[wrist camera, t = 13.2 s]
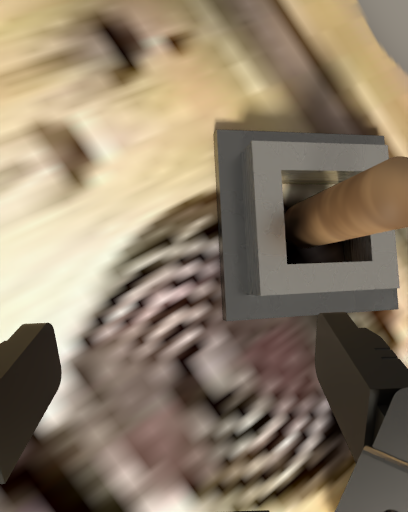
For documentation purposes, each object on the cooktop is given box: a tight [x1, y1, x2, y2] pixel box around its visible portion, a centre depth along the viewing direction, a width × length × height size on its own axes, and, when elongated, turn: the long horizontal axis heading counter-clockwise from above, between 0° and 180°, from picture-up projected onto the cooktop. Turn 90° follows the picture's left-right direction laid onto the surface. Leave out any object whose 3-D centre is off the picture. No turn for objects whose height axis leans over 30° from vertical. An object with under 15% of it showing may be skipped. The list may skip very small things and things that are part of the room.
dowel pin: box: [284, 156, 408, 248], centre depth 25 cm, size 4×4×11 cm
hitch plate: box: [214, 130, 400, 321], centre depth 28 cm, size 14×14×4 cm
